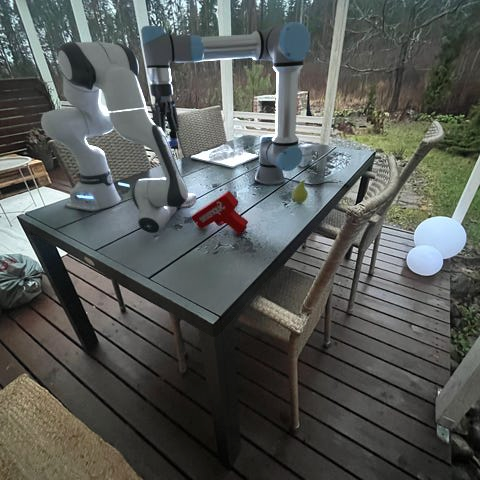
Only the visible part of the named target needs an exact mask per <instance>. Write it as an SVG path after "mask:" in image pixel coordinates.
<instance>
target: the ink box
mask: <svg viewBox="0 0 480 480" xmlns="http://www.w3.org/2000/svg"><path fill="white" fill-rule="evenodd" d="M298 147H299V148H300V150H301V151H302V160H301V162H300V164H299V165H298V166H297V167H300V168H304V167H306V166H309V165H311V164H312V156H313V148H314V144H312V143H311V144H310V143H304V144H300V145H298ZM310 162H311V163H310ZM308 163H309V164H308ZM305 164H307V165H305ZM301 165H304V166H301Z"/></svg>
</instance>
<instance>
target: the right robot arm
mask: <svg viewBox="0 0 480 480" xmlns="http://www.w3.org/2000/svg"><path fill="white" fill-rule="evenodd" d="M140 35H141V41H142V42H141V43H142V48H143V54H144V60H145V65H146V71H147V76H148V82H149V83H150V84H149V89H150V90H149V91H150V95H151V96H152V97H154V103H151V104H150V105H149V107H150V110H151V115H152V121H153V122H154V124H155V125H157V126H159V127H160V128H161V129H162V130H163V132H164V134H165V136H166V138H168V135H166V121H167V124H168V127H169V130H170V131H169V132H168V133H169V138H177V139H178V135H177V134H178V132H179V131H180V122H179V118H178V111H177V101H176V100H174V99H173V100H172V98H171V96H173V95H174V91H173V90H174V89H173V84H172V83H171V82H172V75H171V74H172V73H171V68H170V63H176V64H181V63H182V64H183V63H200V62H206V61H207V62H208V61H220V60H234V59H248V58H252V59H253V60H254V61H262V60H263V61H270V62H272V68H273V70H274V71H275V72H276V101H275V107H276V108H275V110H276V111H275V134H266V135H264V134H263V135H262V136H260V138H259V143H258V145H259V153H258V167H257V171H256V173H254V176H255V177H254V181H255V183H258V184H259V185H262V186H263V185H264V186H279V185H281V184H283V183H284V181H285V180H287V181H291V182H293V183H298V184H299V183H300V182H301V181H299V180H295V179H292V178H288V177H285V175H284V172H292V171H293V170H295V169H297V167H299V166H298V165H299V164H300V162H301V160H302V151H301V150H300V148H299V137H298V136H297V135H296V132H297V131H296V130H297V129H296V128H297V114H298V113H297V111H298V93H299V92H298V91H299V79H300V78H299V77H300V76H299V75H300V71H301V69H302V68H303V67H304V59H305V58H306V57H307V55H308V53H309V51H310V48H311V35H310V32H309V29H308V28H307V27H306V25H304V24H303V23H302V22H298V21H290V22H286V23H282V24H279V25H275V26H272V27H269V28H266V29H261V30H254V31H253V32H252V33H251V34H234V35H232V34H231V35H214V36H213V35H211V36H201V35H196V34H168V33H167V32H166V30H165V27H164V26H163V25H162V26H161V25H144V26H142V28H141V29H140ZM167 141H168V139H167ZM179 148H180V147H179V144H178V145H177V146H173V147H171V150H179ZM283 171H284V172H283ZM333 181H334V180H328V181H323V182H319V183H308V182H307V183H306V182H305V186H320V185H324V184H333V183H334V184H336V183H337V184H338V182H333ZM338 181H339V182H342V181H340V180H338ZM344 186H346V187H349V185H348V184H347V183H346V184H344Z"/></svg>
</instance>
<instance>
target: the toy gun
mask: <svg viewBox="0 0 480 480" xmlns="http://www.w3.org/2000/svg"><path fill="white" fill-rule="evenodd" d="M238 205H239V200H238V199H237V197H236V196H235V195H234V194H233V193H232V191H231V190H227V191H226V192H224V193H222V194H221V195H220V196H218V197H216V198H215V199H213V200H212V201H211V202H209V203H208V204H206V205H204V206H203V207H201V208H200V209H198V210H197V211H195V213H194V214H193V215H192V216H191V217H190V219H192V221H193V222H194V224H196V226H197V227H198V228H199V229H201V230H202V229H204V228H206V227H209V226H210V225H211V224H213V223H215V225H216V226H217V227H221V226H223V225H225V224H226V225H227V226H229V227H230V228H231V229H232V230H234V232H235V235H237V236H239V234H241V233H242V234H244V233H245V231H246V230H247V228H248V226H247V225H248V224H249V221H248V220H247V219H246V218H245V217H244V216H242V215H241V214H239V213H238V212H237V210H235V209H237V206H238Z"/></svg>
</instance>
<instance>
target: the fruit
mask: <svg viewBox="0 0 480 480" xmlns="http://www.w3.org/2000/svg"><path fill="white" fill-rule="evenodd" d="M310 177H311V175H310V174H309V175H308V176H307V177H305V179H302V180H301V181H299V182H300V183H298V184H297V185H296V186H295V187H294V188H293V190H292V191H291V198H292V200H293V201H294V202H295V203H297V204H301V203H304V202H305V201H306V200H307V198H308V196H309V195H308V190H307V189H306V185H305V183H306V180H308V179H309V178H310Z"/></svg>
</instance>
